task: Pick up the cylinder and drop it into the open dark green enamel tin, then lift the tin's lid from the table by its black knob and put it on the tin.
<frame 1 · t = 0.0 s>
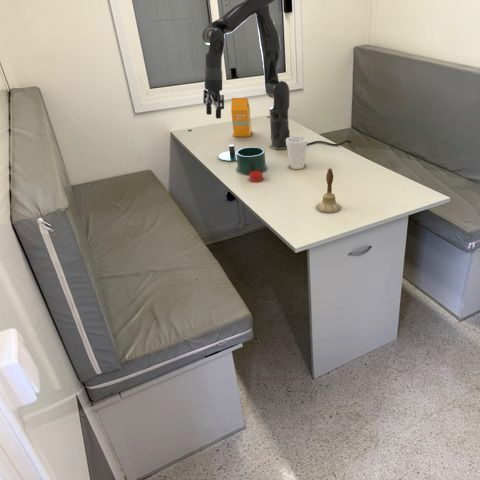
hand: (213, 116, 193), 22 cm above the table, tool pointing down, fingers open, 8 cm apart
lid: (232, 156, 211), point 1 cm above the table
cylinder: (256, 179, 188), on the table
hand bell: (328, 208, 166), on the table
foam cup: (297, 166, 201), on the table
orange juice: (242, 134, 242), on the table
tin: (251, 169, 198), on the table
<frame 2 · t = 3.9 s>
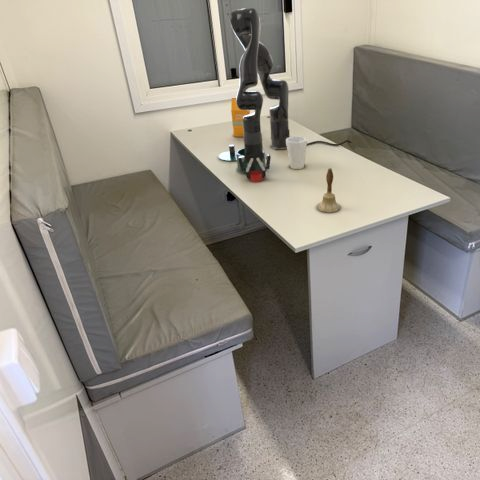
hand: (256, 178, 188), 1 cm above the table, tool pointing down, fingers closed on cylinder, 5 cm apart
cylinder: (256, 179, 188), on the table, touching gripper
everything else where it was.
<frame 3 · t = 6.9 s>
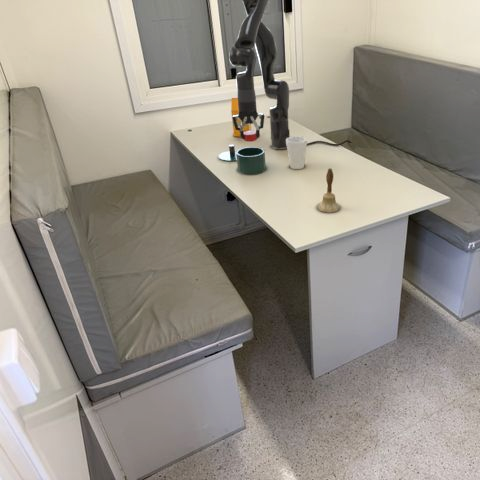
hand: (250, 138, 189), 15 cm above the table, tool pointing down, fingers closed on cylinder, 5 cm apart
cylinder: (250, 139, 189), point 15 cm above the table, touching gripper
everything else where it was.
when the fingers open (6 cm above the table, at t = 9.9 s): cylinder drops 5 cm, resting on tin.
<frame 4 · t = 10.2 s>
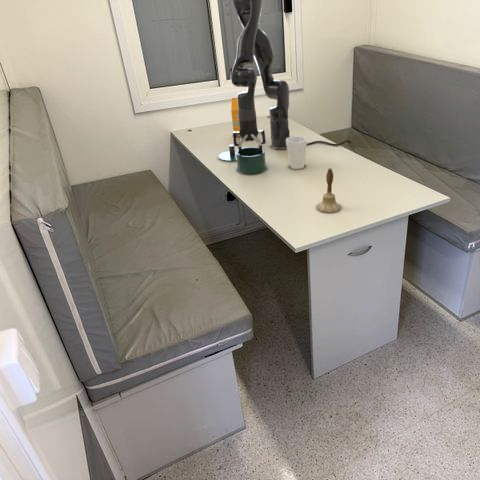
hand: (250, 153, 194), 8 cm above the table, tool pointing down, fingers open, 8 cm apart
cylinder: (251, 168, 198), point 1 cm above the table, touching tin
everything else where it was.
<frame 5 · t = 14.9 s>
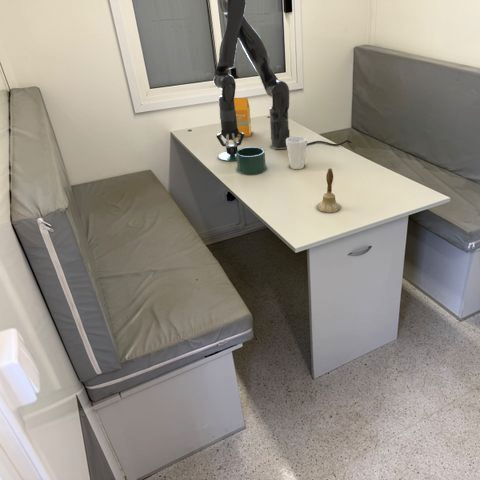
hand: (232, 153, 210), 2 cm above the table, tool pointing down, fingers closed on lid, 2 cm apart
lid: (232, 156, 211), point 1 cm above the table, touching gripper
everything else where it was.
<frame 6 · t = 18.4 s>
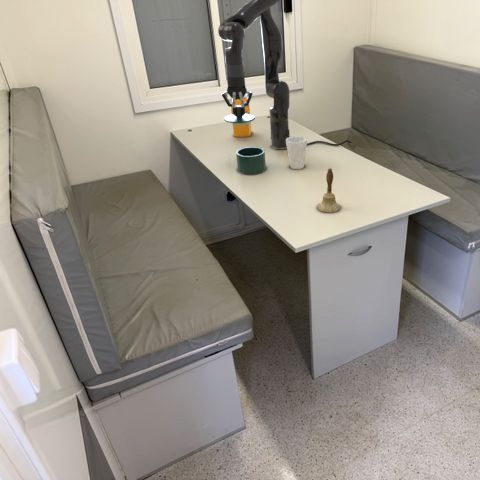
hand: (239, 115, 191), 23 cm above the table, tool pointing down, fingers closed on lid, 2 cm apart
lid: (239, 118, 192), point 22 cm above the table, touching gripper
everything else where it was.
when the fingers open (10 cm above the table, at t = 22.2 s): lid stays where it is, resting on tin.
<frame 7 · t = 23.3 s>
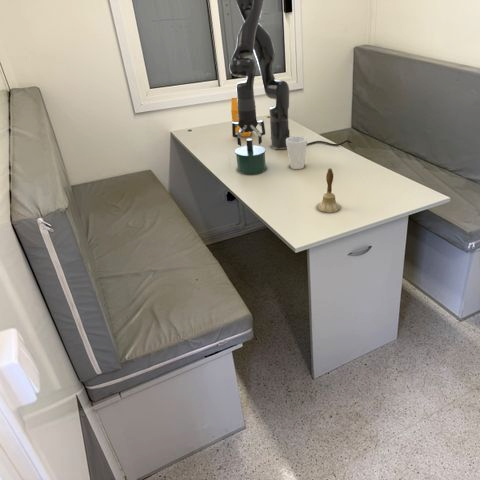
hand: (249, 144, 192), 12 cm above the table, tool pointing down, fingers open, 8 cm apart
lid: (250, 151, 194), point 8 cm above the table, touching tin
everything else where it was.
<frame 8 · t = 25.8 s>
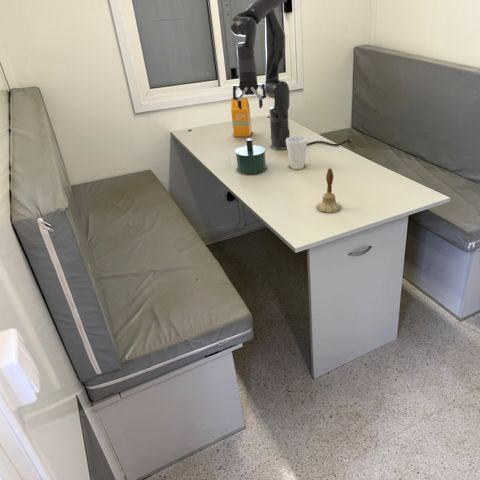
hand: (250, 108, 190), 26 cm above the table, tool pointing down, fingers open, 8 cm apart
nothing on the table moved.
at the end: cylinder inside the target area in the tin (0.0 cm from its centre), point 0.5 cm above the tin's base; lid 0.0 cm off-centre on the tin, point 8.5 cm above the tin's base; lid tilted 0° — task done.
